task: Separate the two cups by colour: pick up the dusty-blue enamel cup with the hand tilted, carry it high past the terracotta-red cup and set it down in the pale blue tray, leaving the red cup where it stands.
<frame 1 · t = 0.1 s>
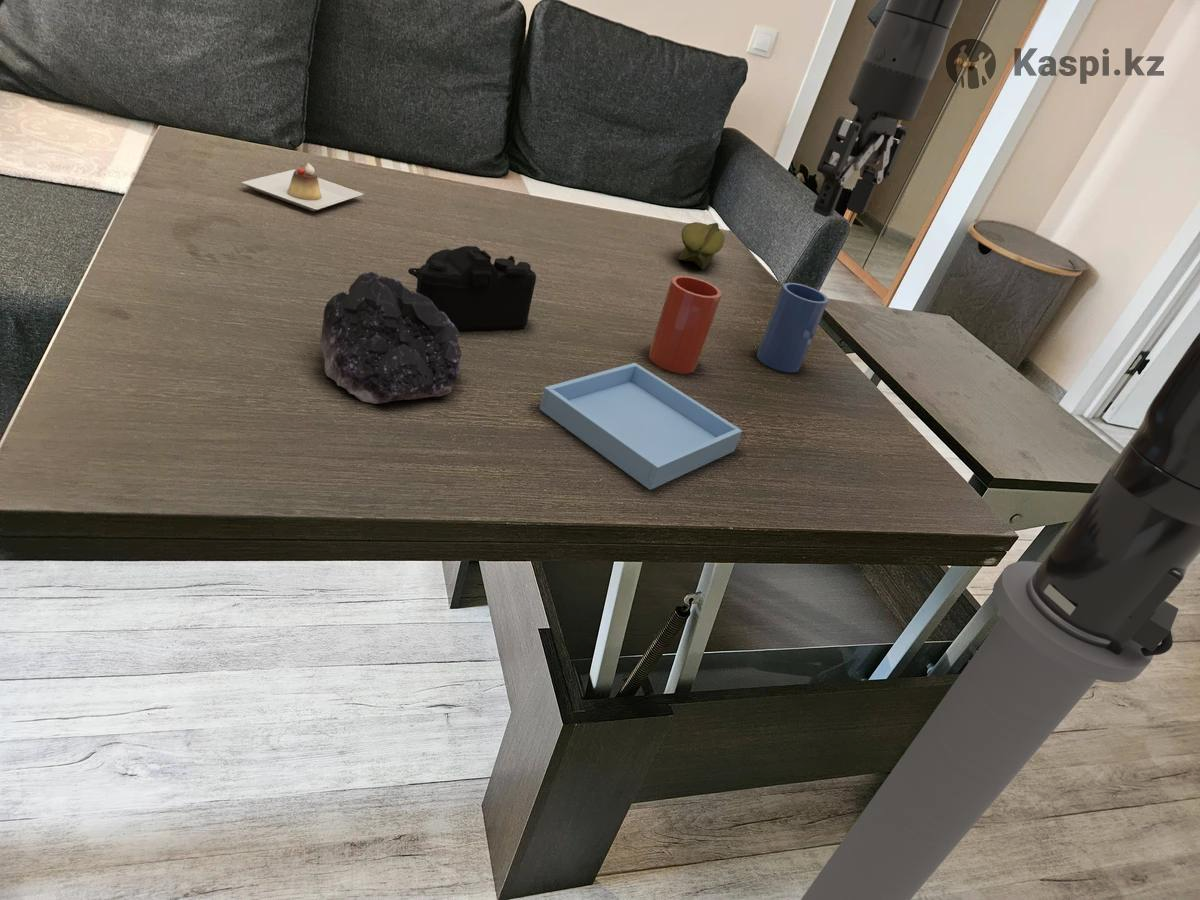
hand: (838, 213, 94), 21 cm above the table, tool pointing down, fingers open, 8 cm apart
dessert: (304, 197, 115), on the table
film camera: (460, 315, 94), on the table
blue cup: (777, 361, 106), on the table
fruit: (697, 263, 134), on the table
red cup: (672, 361, 98), on the table
tray: (638, 430, 81), on the table
crystal cluster: (390, 376, 79), on the table
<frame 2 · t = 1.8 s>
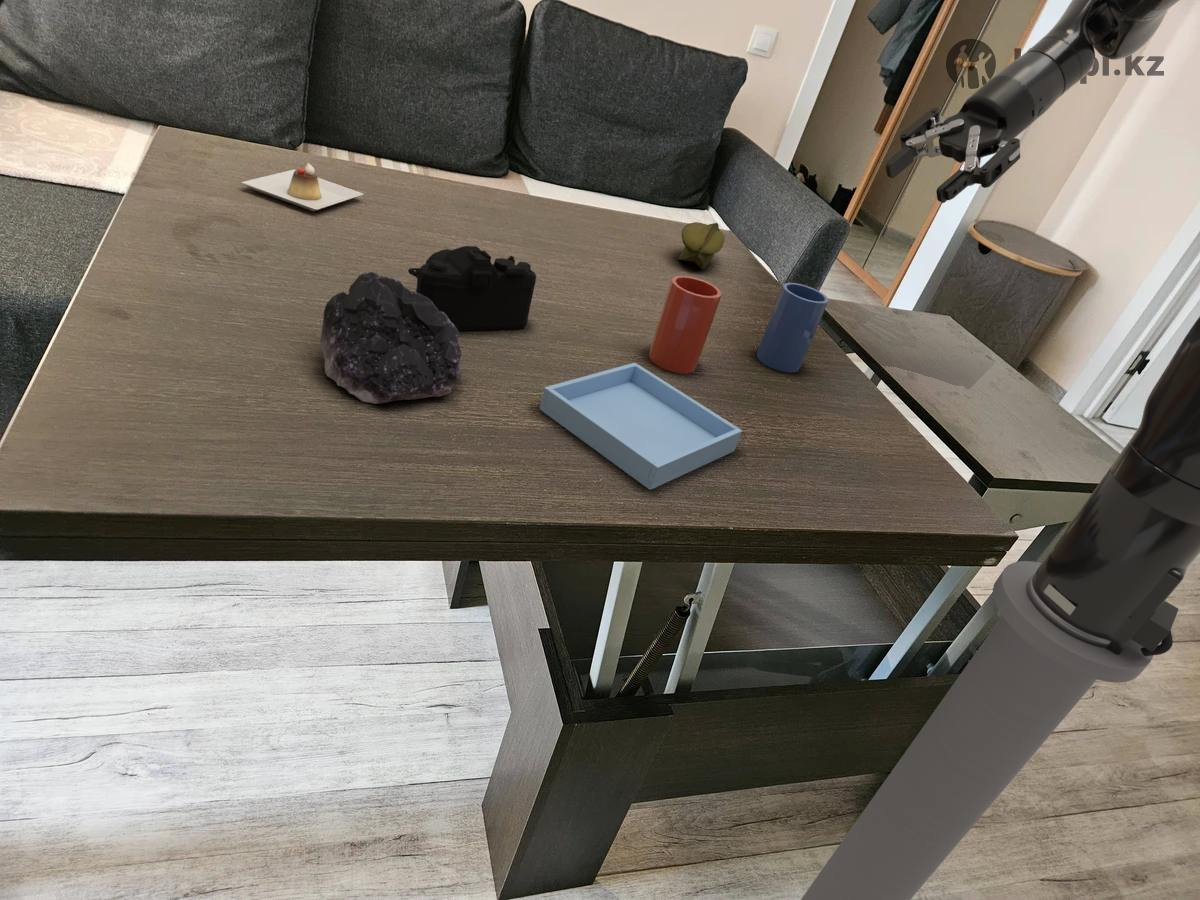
hand: (913, 184, 99), 25 cm above the table, tool tilted 45°, fingers open, 8 cm apart
nothing on the table moved.
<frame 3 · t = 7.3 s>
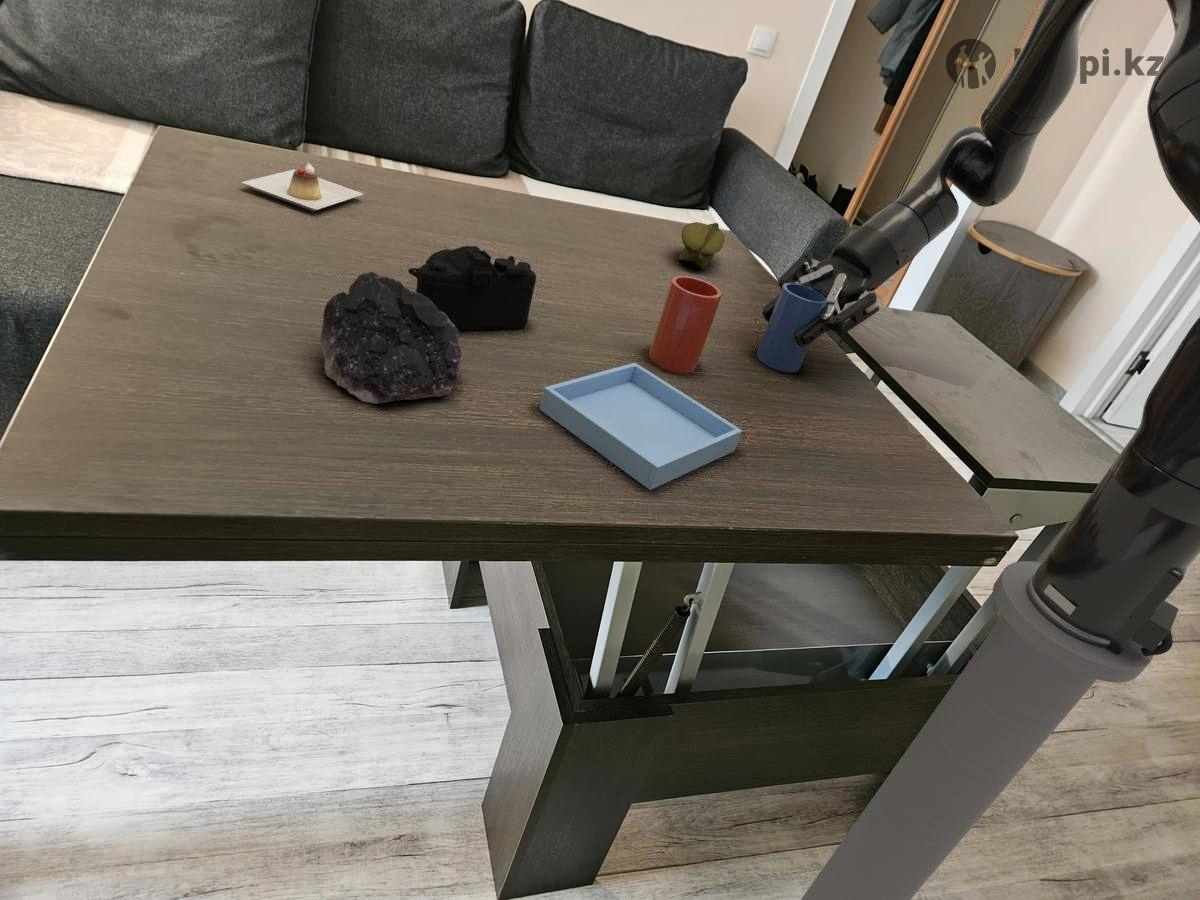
hand: (781, 329, 103), 5 cm above the table, tool tilted 45°, fingers closed on blue cup, 6 cm apart
blue cup: (777, 361, 106), on the table, touching gripper
everything else where it was.
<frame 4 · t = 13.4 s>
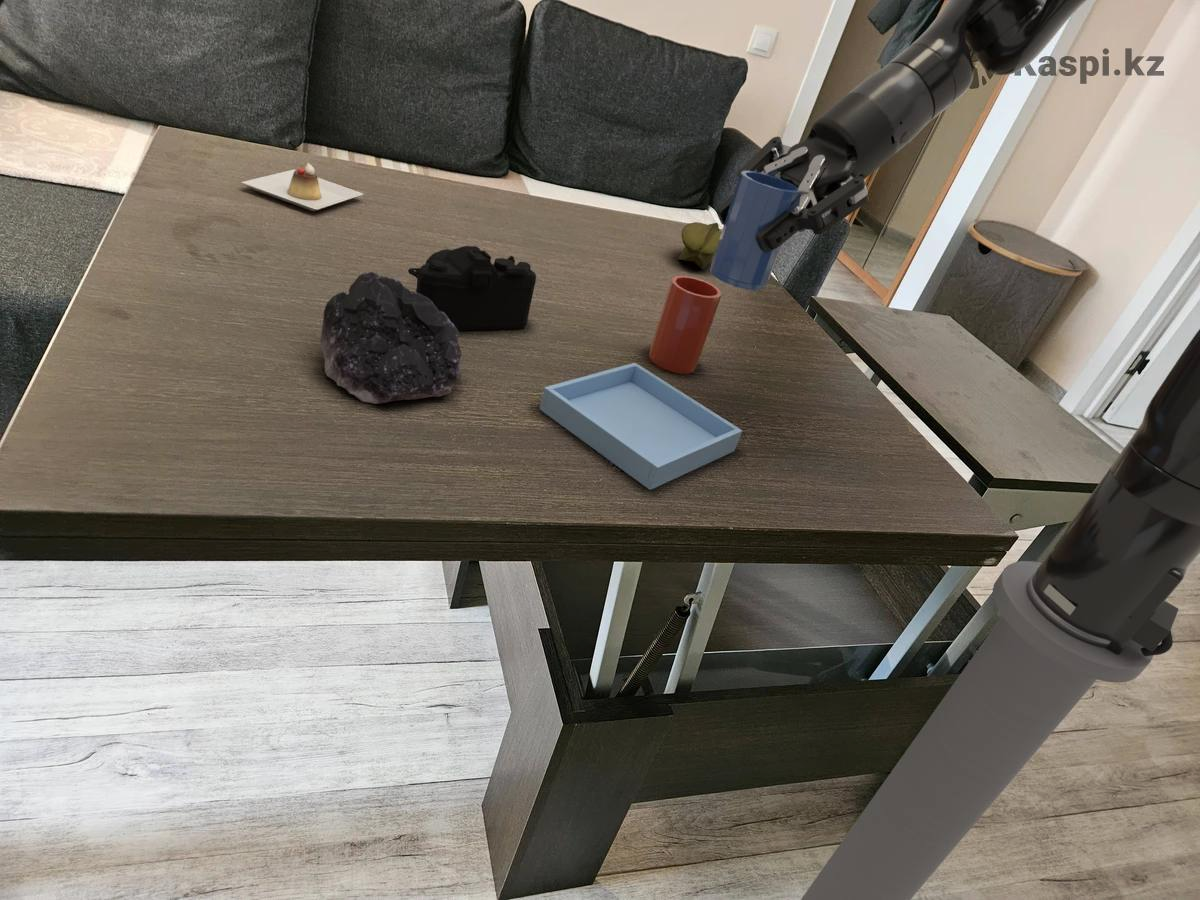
hand: (740, 232, 78), 20 cm above the table, tool tilted 45°, fingers closed on blue cup, 6 cm apart
blue cup: (737, 278, 82), point 15 cm above the table, touching gripper
everything else where it was.
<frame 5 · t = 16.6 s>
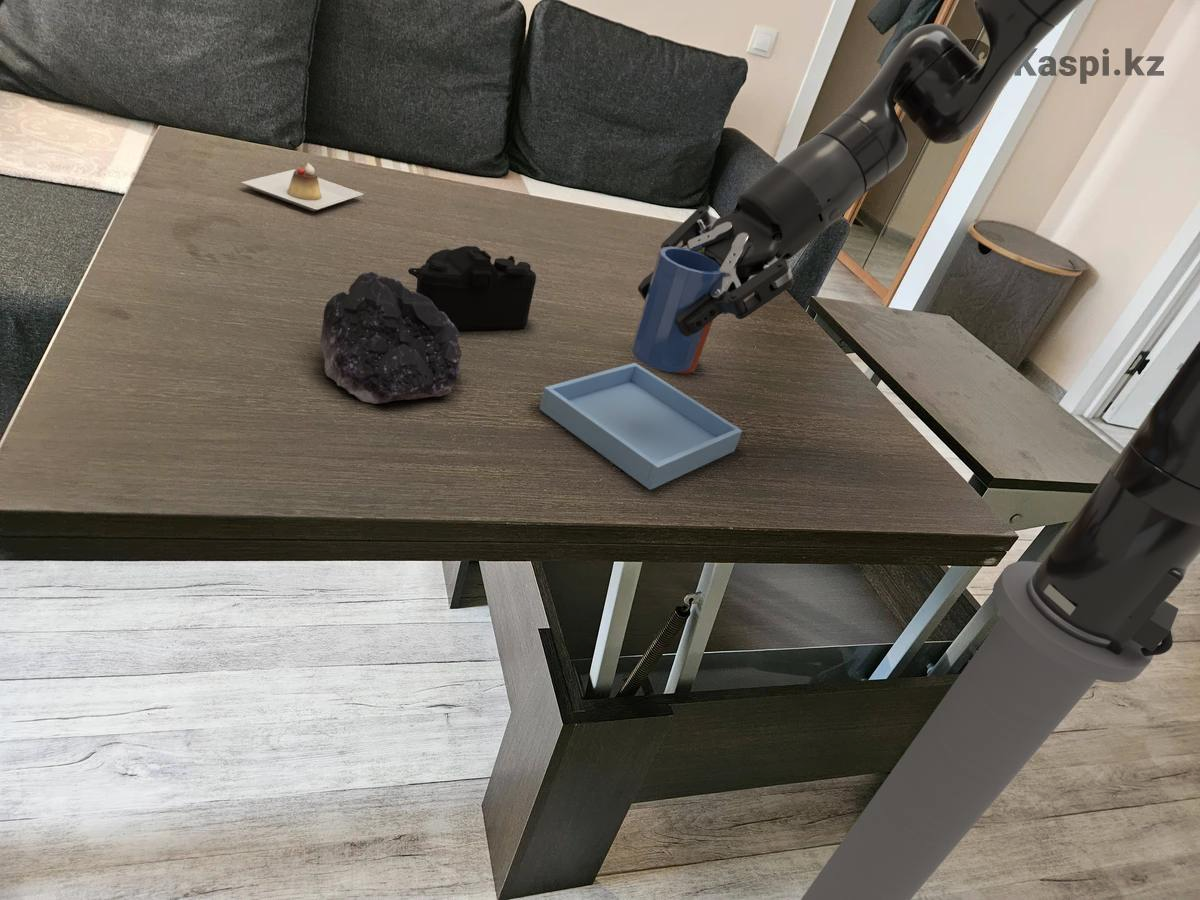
hand: (661, 312, 74), 13 cm above the table, tool tilted 45°, fingers closed on blue cup, 6 cm apart
blue cup: (661, 356, 77), point 9 cm above the table, touching gripper
everything else where it was.
when the fingers open (5 cm above the table, at t = 19.4 s): blue cup stays where it is, resting on tray.
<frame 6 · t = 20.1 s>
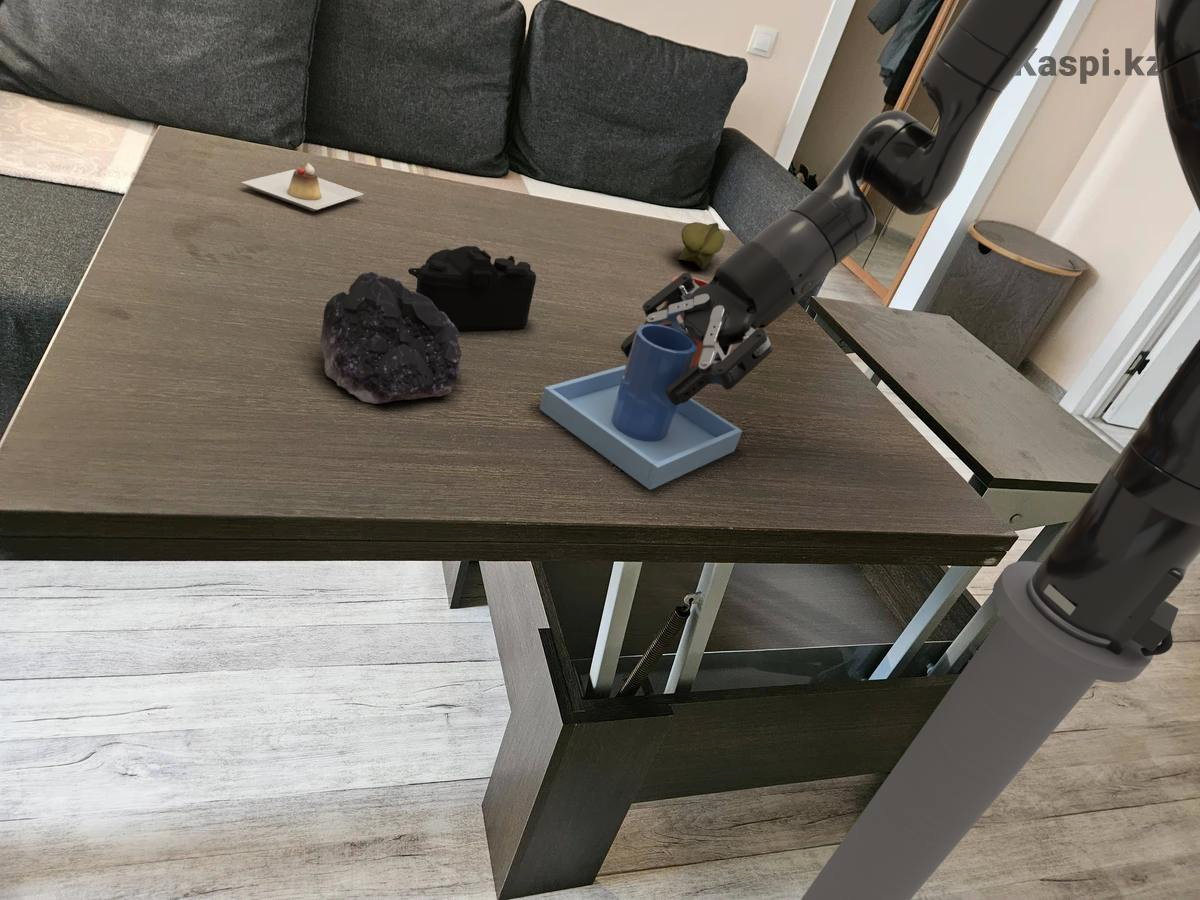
hand: (646, 376, 77), 7 cm above the table, tool tilted 45°, fingers open, 8 cm apart
blue cup: (639, 425, 81), point 1 cm above the table, touching tray
everything else where it was.
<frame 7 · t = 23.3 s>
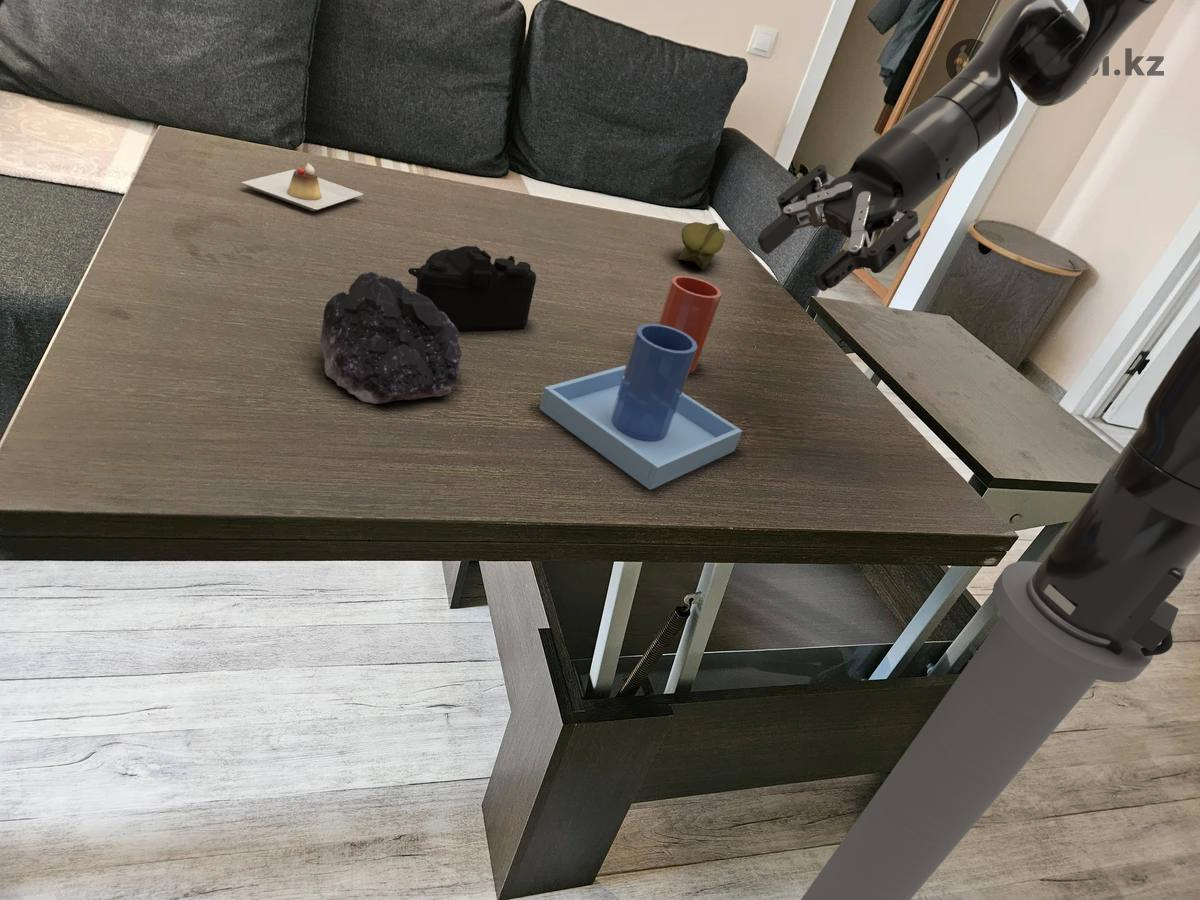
hand: (788, 264, 78), 19 cm above the table, tool tilted 45°, fingers open, 8 cm apart
nothing on the table moved.
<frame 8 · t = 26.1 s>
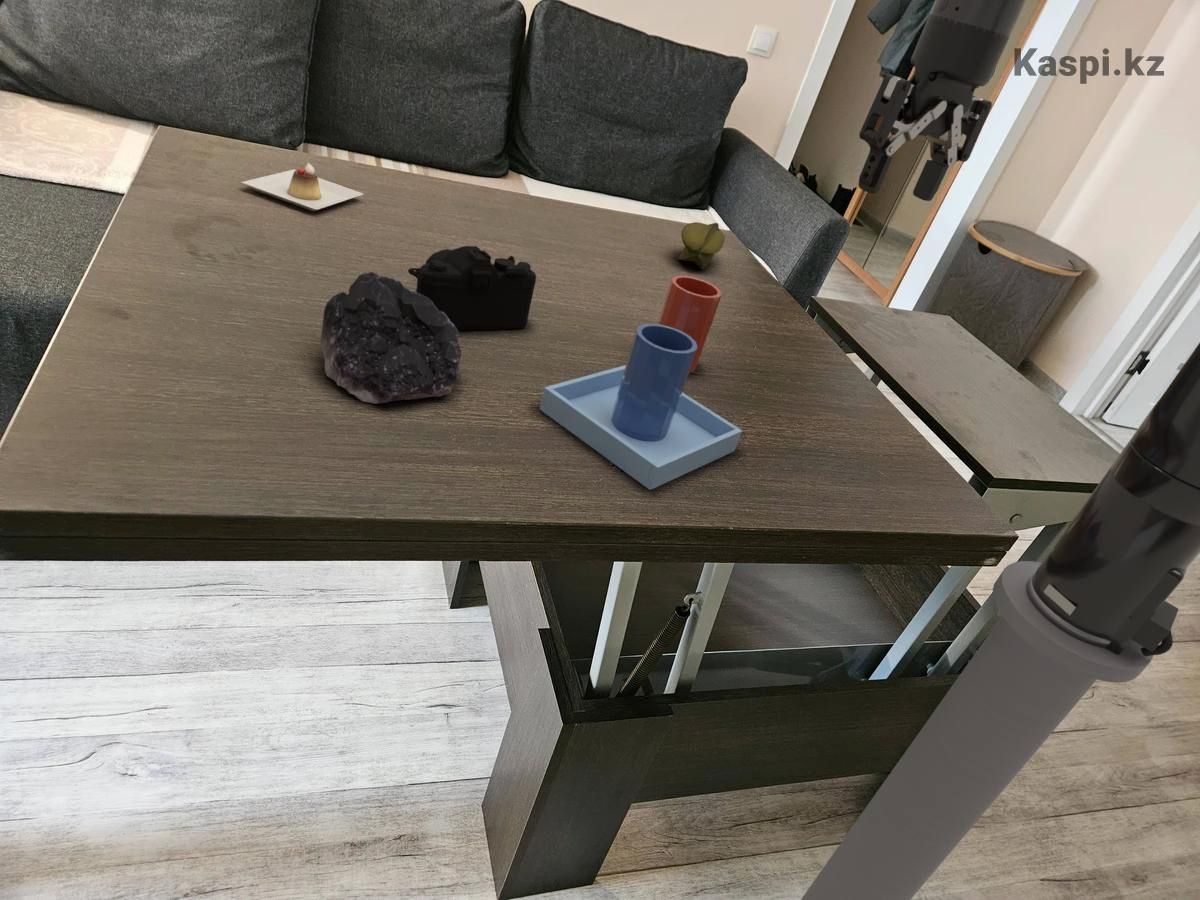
hand: (894, 194, 82), 26 cm above the table, tool pointing down, fingers open, 8 cm apart
nothing on the table moved.
at the end: blue cup inside the target area in the tray (0.1 cm from its centre), point 0.6 cm above the tray's base; blue cup tilted 0°; red cup moved 0.0 cm from its start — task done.
